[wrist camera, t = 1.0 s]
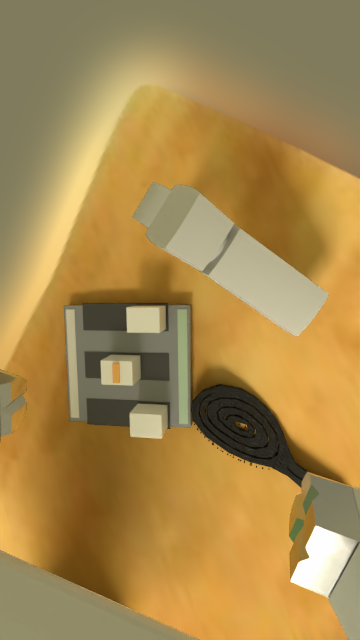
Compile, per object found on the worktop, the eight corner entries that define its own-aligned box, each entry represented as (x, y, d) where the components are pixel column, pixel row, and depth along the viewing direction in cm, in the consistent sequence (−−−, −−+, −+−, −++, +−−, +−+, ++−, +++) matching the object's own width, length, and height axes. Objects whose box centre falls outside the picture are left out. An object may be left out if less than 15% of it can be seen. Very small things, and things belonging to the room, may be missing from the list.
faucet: (297, 340, 38) (157, 253, 27) (225, 286, 52) (111, 213, 40) (332, 293, 37) (201, 182, 26) (249, 251, 50) (139, 166, 39)
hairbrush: (336, 548, 42) (175, 424, 43) (328, 526, 46) (179, 412, 47) (383, 502, 41) (216, 374, 41) (371, 483, 45) (216, 366, 45)
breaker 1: (140, 377, 45) (131, 386, 41) (111, 376, 46) (100, 385, 42) (140, 355, 45) (131, 361, 41) (111, 354, 46) (99, 361, 42)
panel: (192, 425, 46) (190, 430, 45) (74, 418, 49) (69, 423, 48) (190, 302, 45) (189, 303, 43) (69, 302, 48) (63, 303, 46)
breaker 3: (167, 427, 45) (161, 438, 42) (138, 425, 46) (130, 436, 42) (167, 404, 45) (161, 415, 42) (137, 403, 46) (129, 413, 42)
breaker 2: (166, 329, 44) (159, 332, 40) (135, 328, 45) (127, 332, 41) (165, 305, 44) (159, 307, 40) (135, 305, 44) (126, 307, 41)
